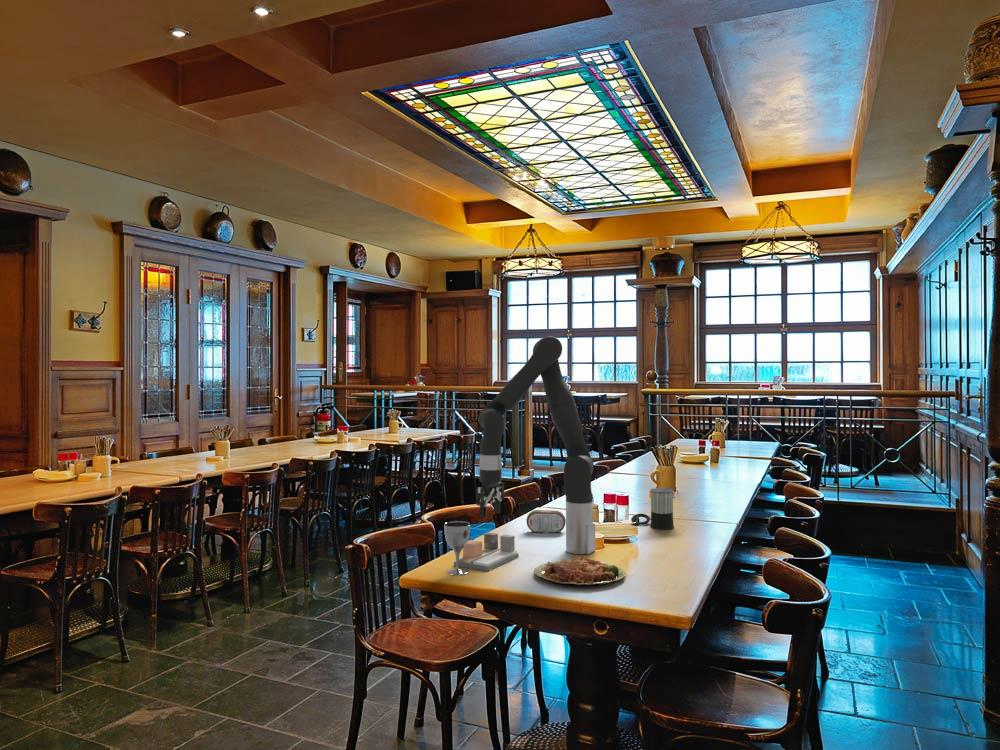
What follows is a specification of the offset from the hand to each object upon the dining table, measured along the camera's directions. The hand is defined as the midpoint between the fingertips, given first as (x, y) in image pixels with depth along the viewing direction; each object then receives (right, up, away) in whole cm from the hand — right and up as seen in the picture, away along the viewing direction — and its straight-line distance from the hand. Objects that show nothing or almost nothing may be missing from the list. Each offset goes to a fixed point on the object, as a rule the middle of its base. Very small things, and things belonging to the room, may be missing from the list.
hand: (490, 515), depth 236 cm
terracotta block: (-6, -11, -10) cm, 16 cm away
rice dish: (+27, -14, -25) cm, 40 cm away
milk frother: (+64, -13, +41) cm, 77 cm away
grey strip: (+2, -12, -10) cm, 16 cm away
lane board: (-1, -13, -9) cm, 16 cm away
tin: (+21, -13, +31) cm, 40 cm away
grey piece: (-4, -12, -7) cm, 14 cm away
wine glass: (-10, -14, -21) cm, 27 cm away
